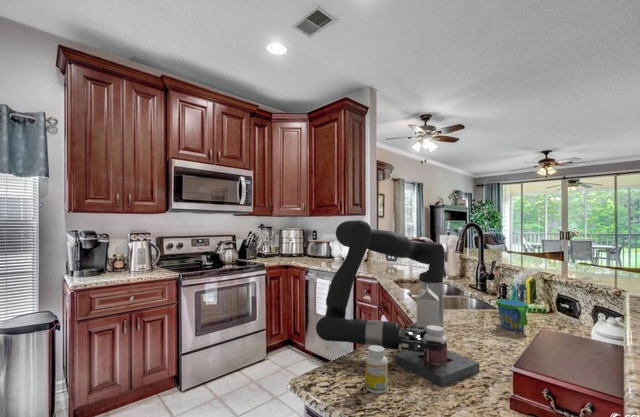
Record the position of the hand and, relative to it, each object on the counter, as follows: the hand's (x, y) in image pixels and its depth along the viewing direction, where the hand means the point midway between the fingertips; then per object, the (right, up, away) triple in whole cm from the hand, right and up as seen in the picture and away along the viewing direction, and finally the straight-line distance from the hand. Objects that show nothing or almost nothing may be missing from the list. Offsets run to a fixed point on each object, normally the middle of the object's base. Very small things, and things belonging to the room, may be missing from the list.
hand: (440, 340), depth 87 cm
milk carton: (+3, -9, +19) cm, 21 cm away
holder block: (-2, -8, 0) cm, 8 cm away
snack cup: (+42, -10, +35) cm, 55 cm away
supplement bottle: (-20, -7, -11) cm, 24 cm away
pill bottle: (-2, -8, 0) cm, 8 cm away
